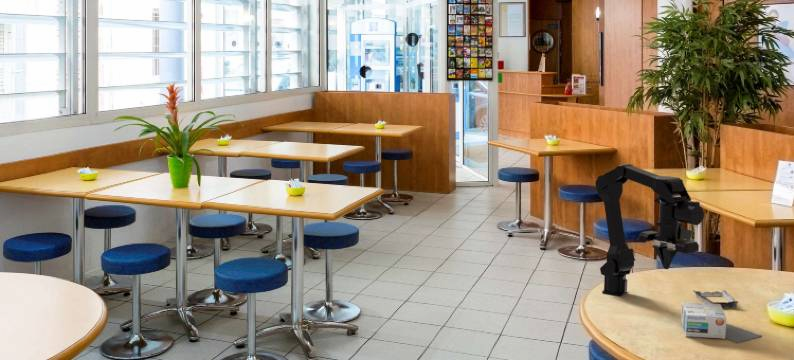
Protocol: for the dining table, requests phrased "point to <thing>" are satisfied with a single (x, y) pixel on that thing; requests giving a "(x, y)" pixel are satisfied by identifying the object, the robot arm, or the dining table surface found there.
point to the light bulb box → (703, 320)
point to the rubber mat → (739, 334)
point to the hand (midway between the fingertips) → (666, 269)
